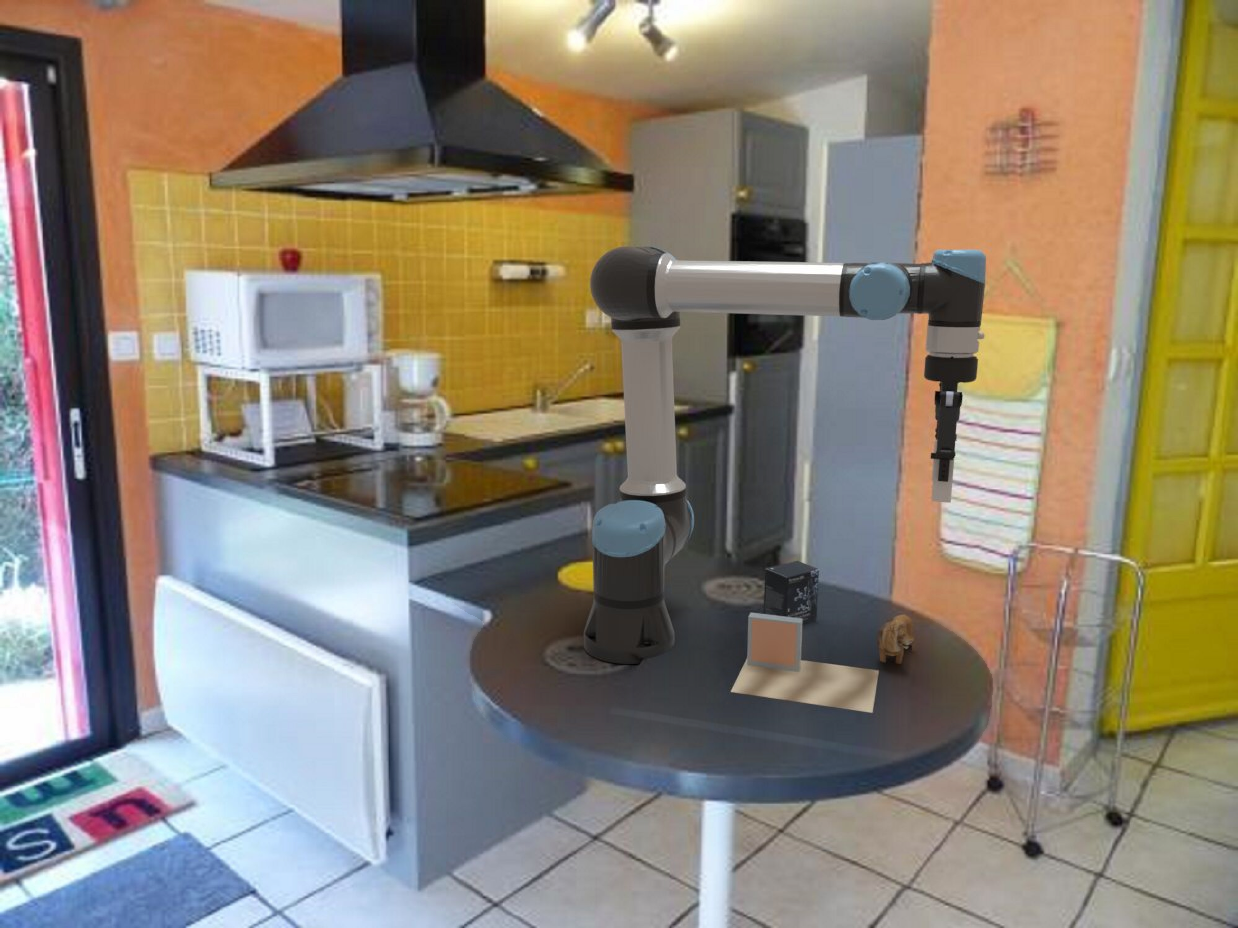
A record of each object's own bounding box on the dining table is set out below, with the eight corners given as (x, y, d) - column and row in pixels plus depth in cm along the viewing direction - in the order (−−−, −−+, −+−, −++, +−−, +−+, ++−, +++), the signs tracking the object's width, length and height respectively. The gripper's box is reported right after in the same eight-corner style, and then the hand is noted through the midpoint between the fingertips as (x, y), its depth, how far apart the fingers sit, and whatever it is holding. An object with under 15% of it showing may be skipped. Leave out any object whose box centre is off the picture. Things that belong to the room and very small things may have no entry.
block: (747, 665, 141) (748, 616, 139) (749, 660, 143) (750, 612, 141) (798, 672, 138) (800, 623, 137) (800, 667, 140) (802, 618, 138)
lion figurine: (910, 683, 137) (913, 627, 135) (873, 677, 139) (876, 622, 137) (916, 645, 150) (919, 594, 148) (882, 641, 152) (885, 590, 150)
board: (730, 697, 132) (730, 691, 132) (749, 658, 145) (749, 653, 145) (872, 719, 126) (872, 712, 126) (878, 676, 139) (878, 670, 139)
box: (784, 635, 154) (786, 576, 152) (762, 624, 159) (763, 567, 157) (817, 625, 159) (820, 568, 156) (794, 615, 163) (796, 559, 161)
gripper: (982, 364, 124) (969, 513, 129) (975, 347, 147) (963, 474, 152) (924, 362, 126) (913, 508, 131) (926, 346, 149) (916, 471, 154)
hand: (940, 490), depth 141 cm, fingers open, 13 cm apart
